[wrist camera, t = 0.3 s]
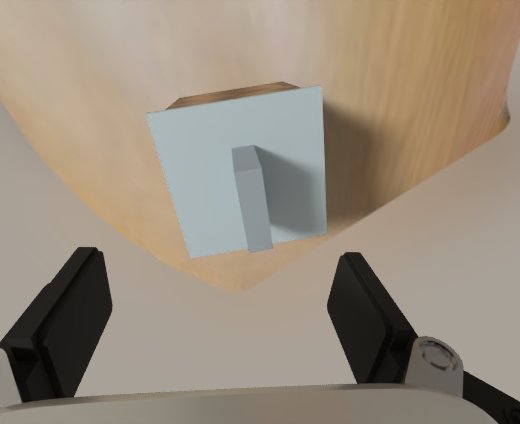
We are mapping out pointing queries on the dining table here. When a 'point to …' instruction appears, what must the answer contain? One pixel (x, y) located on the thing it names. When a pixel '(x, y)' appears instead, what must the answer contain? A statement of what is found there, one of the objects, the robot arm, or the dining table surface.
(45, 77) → the dining table surface
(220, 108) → the lid
